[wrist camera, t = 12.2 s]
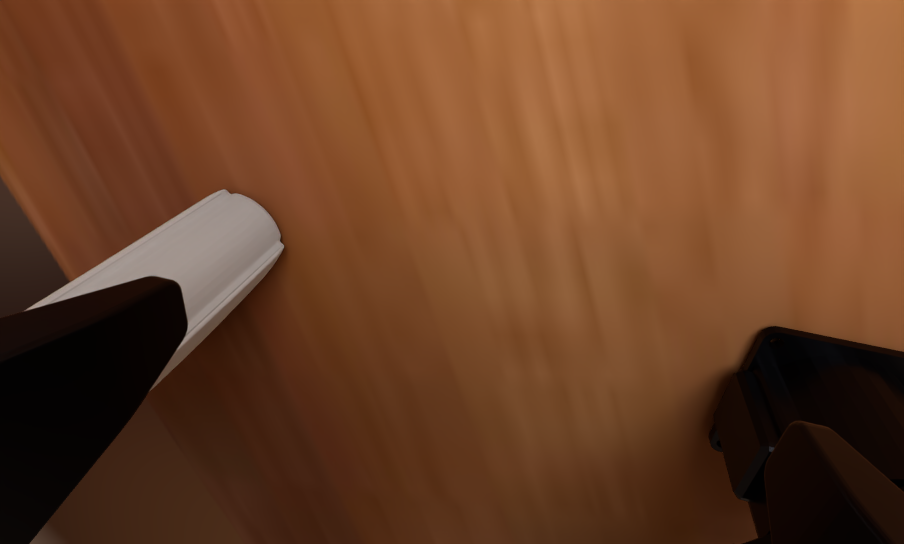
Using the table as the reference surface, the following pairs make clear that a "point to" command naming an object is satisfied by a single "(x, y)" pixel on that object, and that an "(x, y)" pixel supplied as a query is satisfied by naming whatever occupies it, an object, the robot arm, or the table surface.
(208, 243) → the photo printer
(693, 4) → the table surface
